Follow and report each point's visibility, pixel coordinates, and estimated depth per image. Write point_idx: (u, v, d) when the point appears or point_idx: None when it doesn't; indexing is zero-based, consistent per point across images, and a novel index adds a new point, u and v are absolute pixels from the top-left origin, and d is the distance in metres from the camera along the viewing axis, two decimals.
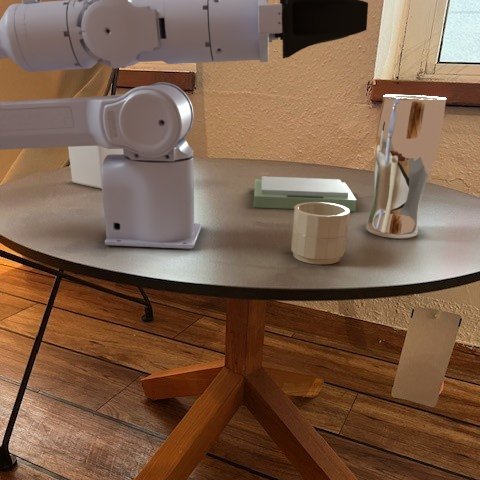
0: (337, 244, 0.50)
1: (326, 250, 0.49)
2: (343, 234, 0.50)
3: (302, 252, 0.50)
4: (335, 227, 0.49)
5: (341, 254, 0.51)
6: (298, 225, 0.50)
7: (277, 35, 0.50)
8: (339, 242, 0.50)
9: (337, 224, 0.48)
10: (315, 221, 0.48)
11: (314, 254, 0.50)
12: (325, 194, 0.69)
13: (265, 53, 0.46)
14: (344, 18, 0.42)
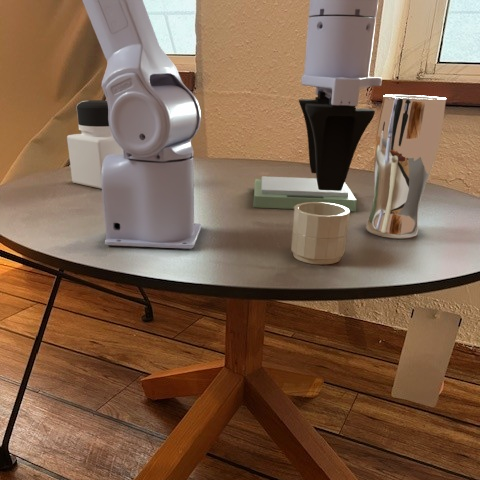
0: (337, 244, 0.50)
1: (326, 250, 0.49)
2: (343, 234, 0.50)
3: (302, 252, 0.50)
4: (335, 227, 0.49)
5: (341, 254, 0.51)
6: (298, 225, 0.50)
7: (321, 94, 0.49)
8: (339, 242, 0.50)
9: (337, 224, 0.48)
10: (315, 221, 0.48)
11: (314, 254, 0.50)
12: (325, 194, 0.69)
13: (311, 82, 0.43)
14: (331, 168, 0.44)
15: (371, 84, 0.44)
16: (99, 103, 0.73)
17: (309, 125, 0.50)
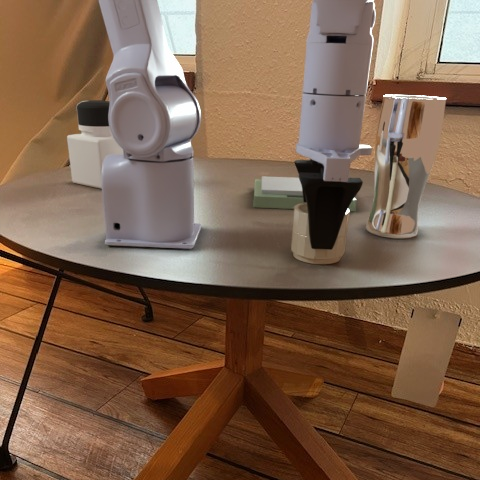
0: (337, 244, 0.50)
1: (326, 250, 0.49)
2: (343, 234, 0.50)
3: (302, 252, 0.50)
4: None
5: (341, 254, 0.51)
6: (298, 225, 0.50)
7: None
8: (339, 242, 0.50)
9: None
10: None
11: (314, 254, 0.50)
12: None
13: (304, 154, 0.46)
14: (323, 230, 0.48)
15: (361, 154, 0.47)
16: (99, 103, 0.73)
17: None
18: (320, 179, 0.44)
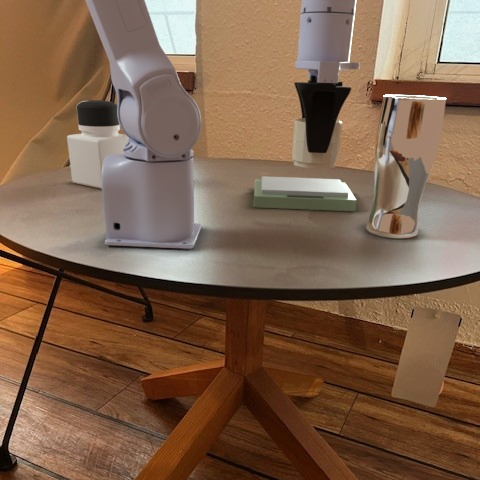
0: (331, 150, 0.58)
1: (321, 155, 0.57)
2: (336, 141, 0.58)
3: (301, 158, 0.58)
4: None
5: (335, 160, 0.59)
6: (297, 133, 0.58)
7: (312, 78, 0.59)
8: (333, 148, 0.58)
9: None
10: None
11: (311, 159, 0.58)
12: (325, 194, 0.69)
13: (302, 66, 0.54)
14: (318, 134, 0.56)
15: (351, 67, 0.55)
16: (99, 103, 0.73)
17: (302, 103, 0.60)
18: (315, 84, 0.52)
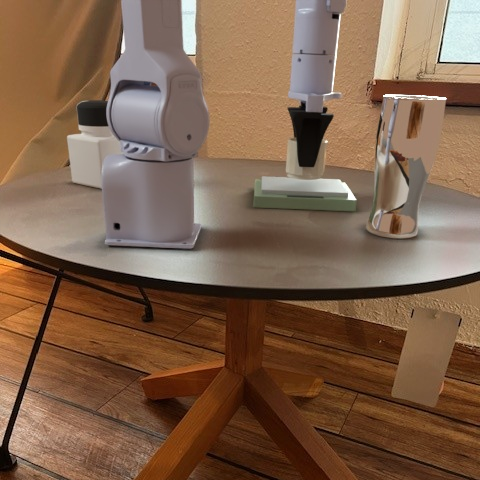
0: (318, 164, 0.69)
1: (310, 168, 0.69)
2: (322, 157, 0.69)
3: (293, 171, 0.70)
4: None
5: (321, 173, 0.71)
6: (290, 151, 0.69)
7: (302, 104, 0.71)
8: (320, 163, 0.70)
9: None
10: None
11: (302, 171, 0.69)
12: (325, 194, 0.69)
13: (293, 96, 0.65)
14: (307, 152, 0.67)
15: (334, 97, 0.66)
16: (99, 103, 0.73)
17: None
18: (304, 112, 0.64)
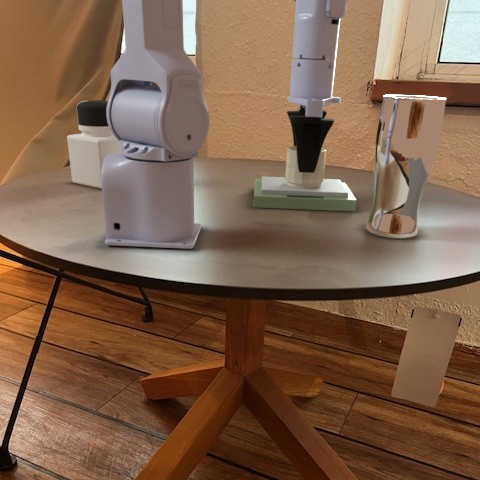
0: (317, 173, 0.70)
1: (309, 177, 0.70)
2: (322, 166, 0.70)
3: (293, 179, 0.71)
4: None
5: (320, 181, 0.71)
6: (290, 160, 0.70)
7: (302, 108, 0.72)
8: (319, 172, 0.70)
9: None
10: None
11: (301, 180, 0.70)
12: (325, 194, 0.69)
13: (293, 101, 0.66)
14: (307, 157, 0.67)
15: (333, 102, 0.67)
16: (99, 103, 0.73)
17: (294, 129, 0.73)
18: (304, 118, 0.63)
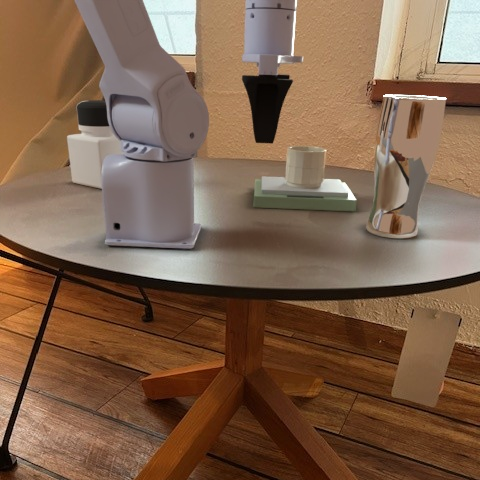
0: (317, 173, 0.70)
1: (309, 177, 0.70)
2: (322, 166, 0.70)
3: (293, 179, 0.71)
4: (316, 160, 0.69)
5: (320, 181, 0.71)
6: (290, 160, 0.70)
7: None
8: (319, 172, 0.70)
9: (317, 158, 0.69)
10: (301, 156, 0.69)
11: (301, 180, 0.70)
12: (325, 194, 0.69)
13: (247, 59, 0.57)
14: (264, 125, 0.58)
15: (294, 61, 0.58)
16: (99, 103, 0.73)
17: None
18: (257, 77, 0.54)
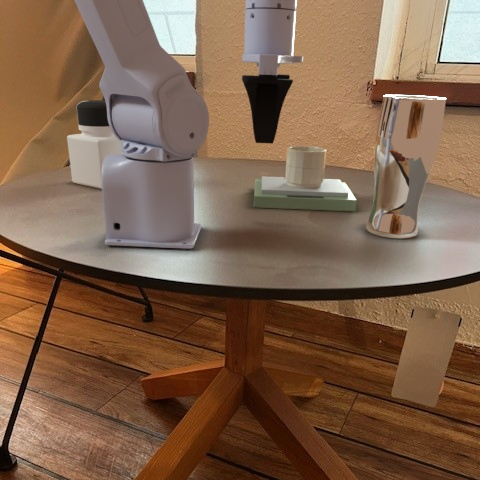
0: (317, 173, 0.70)
1: (309, 177, 0.70)
2: (322, 166, 0.70)
3: (293, 179, 0.71)
4: (316, 160, 0.69)
5: (320, 181, 0.71)
6: (290, 160, 0.70)
7: None
8: (319, 172, 0.70)
9: (317, 158, 0.69)
10: (301, 156, 0.69)
11: (301, 180, 0.70)
12: (325, 194, 0.69)
13: (247, 59, 0.57)
14: (264, 125, 0.58)
15: (294, 61, 0.58)
16: (99, 103, 0.73)
17: None
18: (257, 77, 0.54)
